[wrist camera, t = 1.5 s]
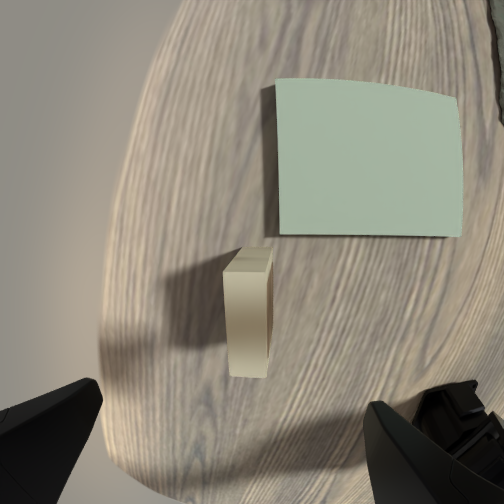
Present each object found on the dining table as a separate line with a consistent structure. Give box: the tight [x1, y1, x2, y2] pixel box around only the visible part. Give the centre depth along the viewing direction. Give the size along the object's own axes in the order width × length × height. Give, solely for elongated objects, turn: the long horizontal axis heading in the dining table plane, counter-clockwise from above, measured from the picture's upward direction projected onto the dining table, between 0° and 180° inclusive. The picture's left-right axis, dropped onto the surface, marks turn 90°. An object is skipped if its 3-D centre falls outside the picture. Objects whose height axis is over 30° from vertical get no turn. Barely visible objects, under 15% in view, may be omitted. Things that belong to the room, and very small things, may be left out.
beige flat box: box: [223, 247, 273, 378], centre depth 17 cm, size 6×2×6 cm, turn 2°
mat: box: [275, 78, 463, 237], centre depth 16 cm, size 10×13×1 cm
